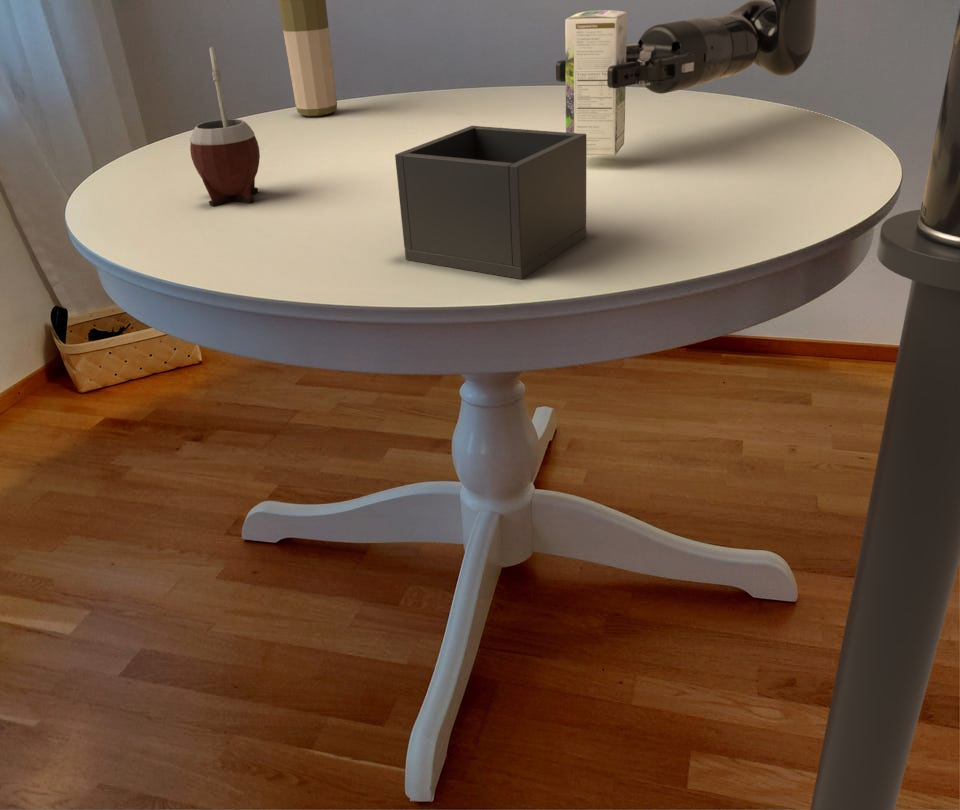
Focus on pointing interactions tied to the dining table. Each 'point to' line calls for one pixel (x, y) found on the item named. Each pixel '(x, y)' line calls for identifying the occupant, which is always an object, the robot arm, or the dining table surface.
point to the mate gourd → (225, 153)
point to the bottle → (309, 55)
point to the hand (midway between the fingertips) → (583, 74)
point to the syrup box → (595, 79)
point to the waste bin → (493, 199)
